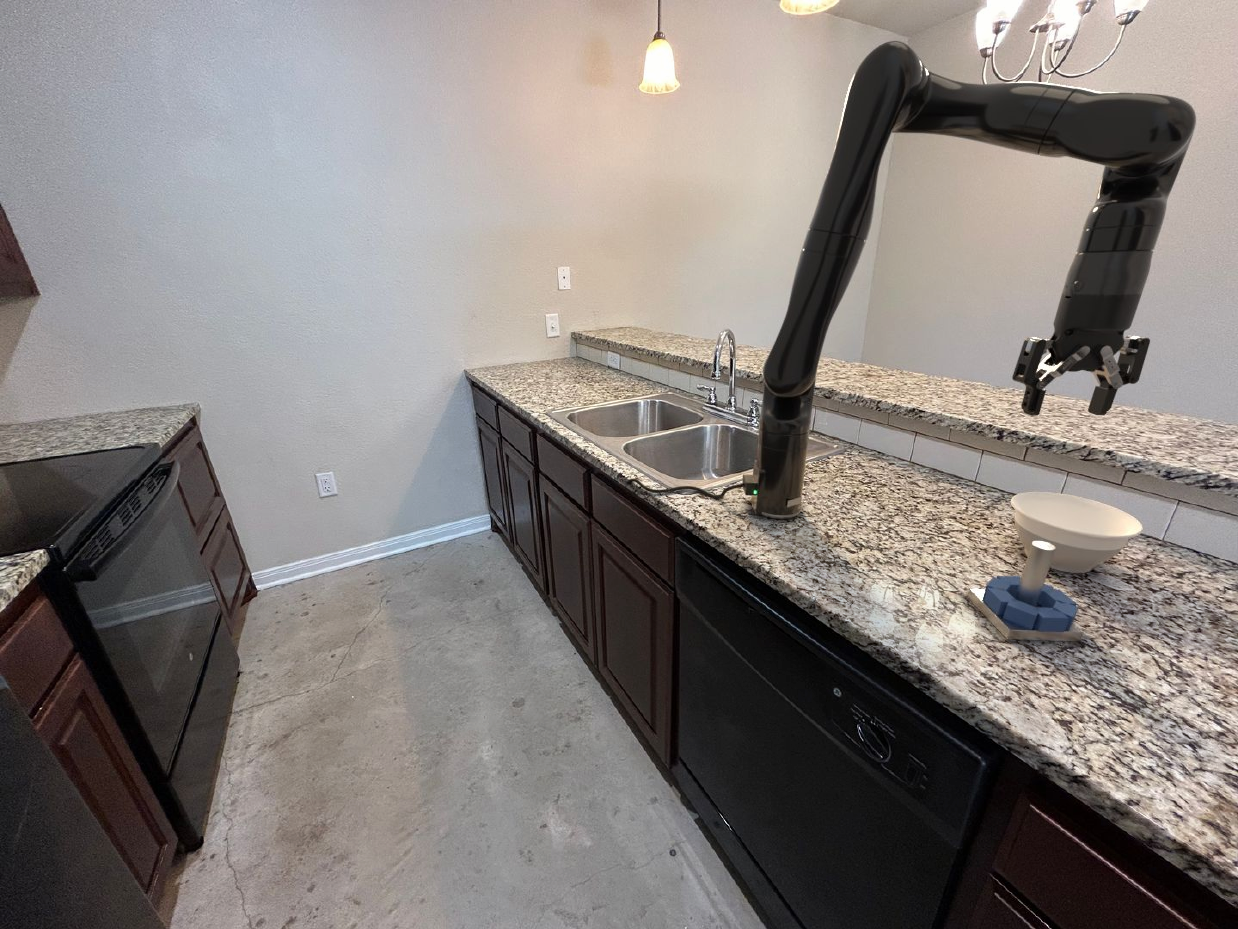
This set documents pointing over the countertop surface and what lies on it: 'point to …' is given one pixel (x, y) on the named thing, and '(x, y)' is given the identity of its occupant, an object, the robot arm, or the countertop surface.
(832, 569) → the countertop surface
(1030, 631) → the metal peg stand
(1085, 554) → the bowl
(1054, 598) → the ring
